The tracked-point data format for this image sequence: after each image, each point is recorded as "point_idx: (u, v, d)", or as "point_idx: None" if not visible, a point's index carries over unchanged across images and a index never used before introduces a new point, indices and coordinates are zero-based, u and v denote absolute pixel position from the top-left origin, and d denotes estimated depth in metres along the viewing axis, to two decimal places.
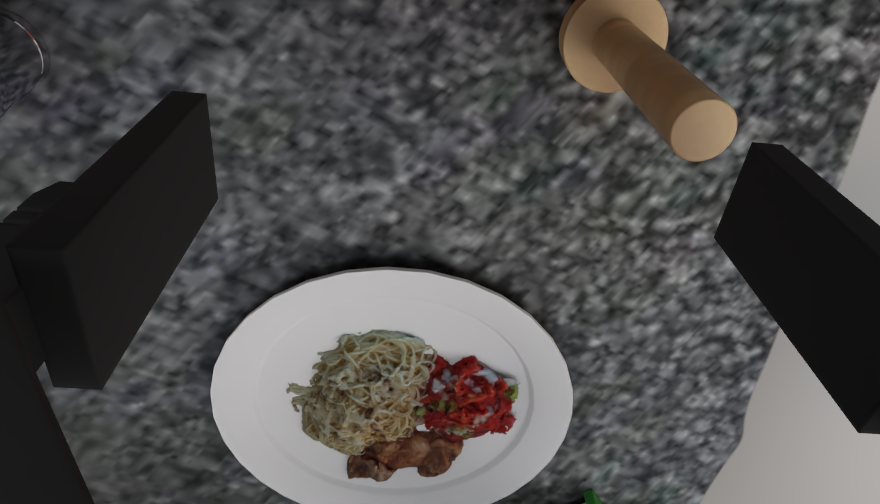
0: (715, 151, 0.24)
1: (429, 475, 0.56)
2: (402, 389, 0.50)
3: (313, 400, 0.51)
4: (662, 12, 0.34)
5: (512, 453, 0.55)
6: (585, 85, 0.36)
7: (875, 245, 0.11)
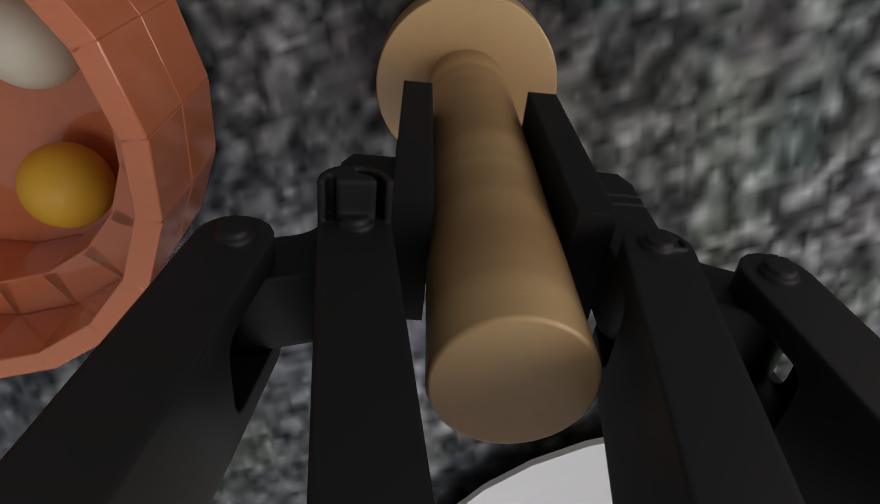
0: (584, 392, 0.09)
1: None
2: None
3: None
4: None
5: None
6: None
7: (566, 166, 0.12)
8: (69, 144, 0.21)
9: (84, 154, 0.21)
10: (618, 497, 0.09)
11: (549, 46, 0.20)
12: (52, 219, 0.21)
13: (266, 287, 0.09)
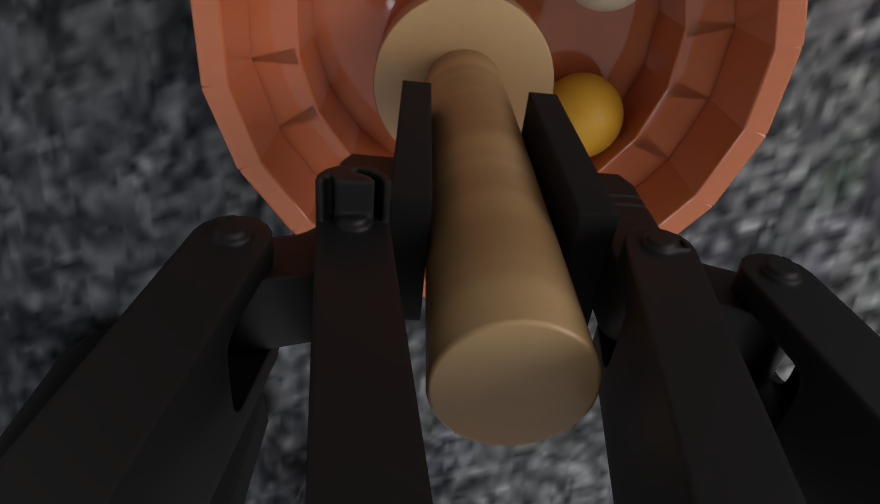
0: (584, 393, 0.09)
1: None
2: None
3: None
4: None
5: None
6: None
7: (568, 166, 0.12)
8: (593, 74, 0.21)
9: (609, 83, 0.21)
10: (619, 497, 0.09)
11: (545, 44, 0.20)
12: (587, 147, 0.21)
13: (264, 287, 0.09)
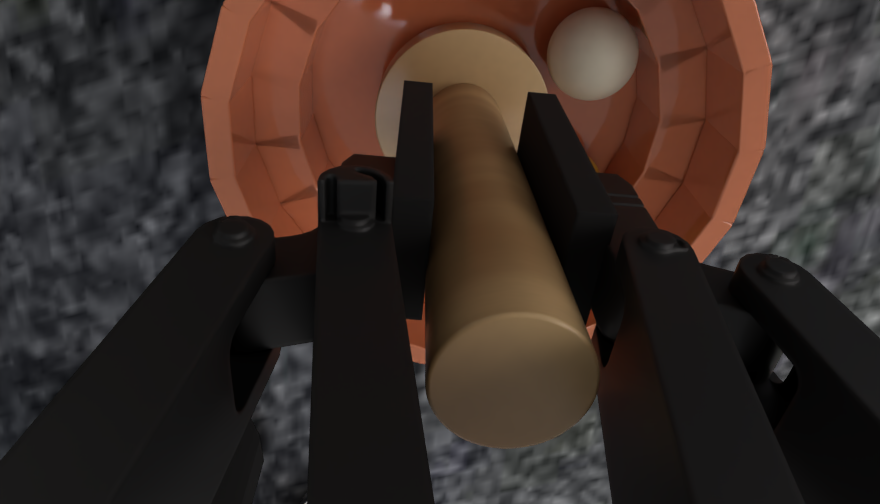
0: (560, 422, 0.09)
1: None
2: None
3: None
4: (528, 62, 0.20)
5: None
6: None
7: (566, 166, 0.12)
8: None
9: (589, 158, 0.23)
10: (618, 497, 0.09)
11: None
12: None
13: (266, 287, 0.09)
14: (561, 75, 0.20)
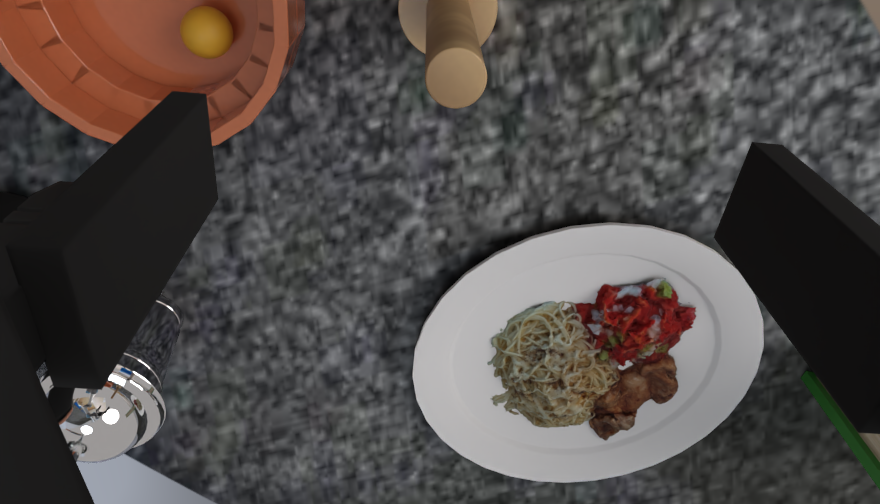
0: (473, 96, 0.26)
1: (666, 399, 0.55)
2: (571, 349, 0.52)
3: (517, 399, 0.56)
4: None
5: (723, 336, 0.52)
6: None
7: (875, 245, 0.11)
8: None
9: (218, 12, 0.36)
10: None
11: (495, 18, 0.37)
12: (186, 38, 0.36)
13: None
14: None
